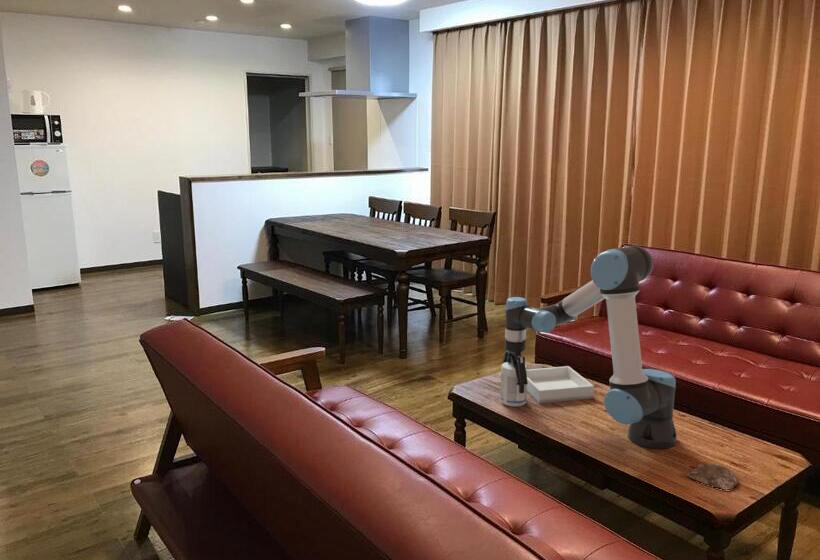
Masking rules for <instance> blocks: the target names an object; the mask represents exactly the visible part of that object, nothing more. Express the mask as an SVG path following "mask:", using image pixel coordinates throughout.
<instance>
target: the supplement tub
mask: <svg viewBox="0 0 820 560" xmlns="http://www.w3.org/2000/svg"><path fill="white" fill-rule="evenodd" d="M525 368H526V375H527V370H528V369H527V368H528V367H527V364H526V363H525ZM517 383H518V380H517V376H516V370H515V368H514V367H513V364H512V363H511V362H505V363H503V364H502V363H501V368H500V385H501V386H500V402H501V403H502V404H503V405H505V406H509V407H515V408H518V407H521V406H524V405H525V404H526V403H527V398H528V397H527V395H528V392H527V384H526V385H525V391H524V401H517V400H516V397H517V385H516V384H517Z"/></svg>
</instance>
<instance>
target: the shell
mask: <svg viewBox="0 0 820 560" xmlns="http://www.w3.org/2000/svg"><path fill="white" fill-rule="evenodd" d="M686 476H687V477H688V478H690V479H691V480H693V481H694V482H695V481H697V482H699V483H698V484H700V483H703V484H705V485H704V486H706V485H709V486H713V487H715V488H718V489H722V490H731V489H733V488H734V487H735V488H737V485H738V476H737V475H736V474H735V473H734V472H733V471H732V470H731V469H730V468H728V467H726V466H723V465H720V464H719V465H718V464H715V463H714V464H713V463H711V464H709V463H708V464H706V463H699V464H698V465H697V466H696V467H695V468H694V469H691V471H690V472H688V473H687V474H686ZM697 482H696V483H697ZM703 484H702V485H703ZM709 486H708V487H709ZM735 488H734V489H735ZM718 489H717V490H718ZM734 489H733V490H734ZM731 491H732V490H731Z"/></svg>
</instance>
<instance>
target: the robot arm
mask: <svg viewBox="0 0 820 560" xmlns="http://www.w3.org/2000/svg"><path fill="white" fill-rule="evenodd" d="M591 263H592V264H591V267H590V276H591V280H590V281H588V282H587V283H585V284H584V285H583V286H581V287H580V288H577V290H575V291H574V292H572V293H570V294H569V295H568V296H565V297H564V298H563V299H561V300H559V302H557V303H553V304H551V305H550V304H549V305H546V306H543V307H531V306H530V305H529V306H528V301H527V300H528V299H526V298H525V297H519V296H512V297H508V298H507V300H506V302H505V309H504V310H505V327H504V338H505V339H504V349H505V350H504V355H503V358H502V363H501V365H502V364H503V363H505V362H511V363H512V364H513V367H514V368H515V370H516V376H517V380H518V383H517V384H516V385H517V397H516V400H517V401H524V391H525V385H526V384H528V382H527V375H526V368H525V364H526V357H525V356H522V352H524V351H526V342H527V341H526V339H527V336H526V335H527V334H526V333H527V332H528V331H527V329H529V330H532V331H533V330H534V331H536V332H539V333H548V334H549V333H550V332H552V331H553V330H554V329H555V327H556V326H559V325H563V324H567V323H569V322H572V321H574V320H575V319H576V318H577V316H578V315H580V314H581V313H583V312H585V311H586V310H588V309H590V308H592V307H593V306H595V305H597V304H598V303H600V302H601V301H604V300H605V303H606V311H607V313H606V314H607V323H608V331H609V340H610V341H609V342H610V352H611V359H612V360H611V361H612V368H613V369H612V370H613V375H611V377H610V378H609V390H608V391H607V392H606V394H605V395H604V398H603V402H604V403H603V404H604V408H605V410H606V412H607V414H608V415H609V416H610V417H611V418H612V419H613V420H614V421H615V422H617V423H619V424H620V425H629V426H628V429H627V437H628V439H629V440H630V441H631V442H632V443H635V444H636V445H638V446H641V447H643V448H644V447H646V448H648V449H649V448H650V449H655V450H656V449H657V450H658V449H660V450H661V449H669V448H672V447H674V446H675V445H676V444H677V441H678V439H677V438H678V436H677V435H678V434H677V431H676V427H675V423H674V420H673V419H674V417H673V416H674V408H675V407H674V406H675V397H676V389H677V386H676V384H677V383H676V381H677V380H676V377H675V376H674V375H673V374H672V373H670V372H667V371H666V372H665V371H663V370H659V369H653V368H652V369H651V368H643V363H642V352H641V344H640V333H639V321H638V314H637V303H636V296H637V295H638V293H640V282H643V281H644V280H646V279H648V278H649V277H650V275H651V273H652V272H653V269H654V259H653V256H652V255H651V253H650V252H649V251H648V250H647V249H646V248H644V247H641V246H638V245H628V246H625V247H618V248H611V249H607V250H606V251H602V252H601V253H599V254H597V255H596V256H595V258H594V259H593V260H592V262H591Z"/></svg>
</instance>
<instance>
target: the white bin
mask: <svg viewBox="0 0 820 560" xmlns="http://www.w3.org/2000/svg"><path fill="white" fill-rule="evenodd" d="M527 382H528V384H527V394H529V395H530V396H531V397H532V398H533V399H534V400H535V401H536V402H537V403H538V404H546V403H556V402H557V403H558V402H567V401H578V400H588V399H589V400H590V399H594V393H595V391H594V390H595V386H594V384H592V382H589V380H587V379H586V377H585V378H584V376H582V375H581V374H580V373H578V372H577V371H576V370H574V369H573V368H572V367H571V366H569V365H564V366H554V367H543V368H531V369H527Z"/></svg>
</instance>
